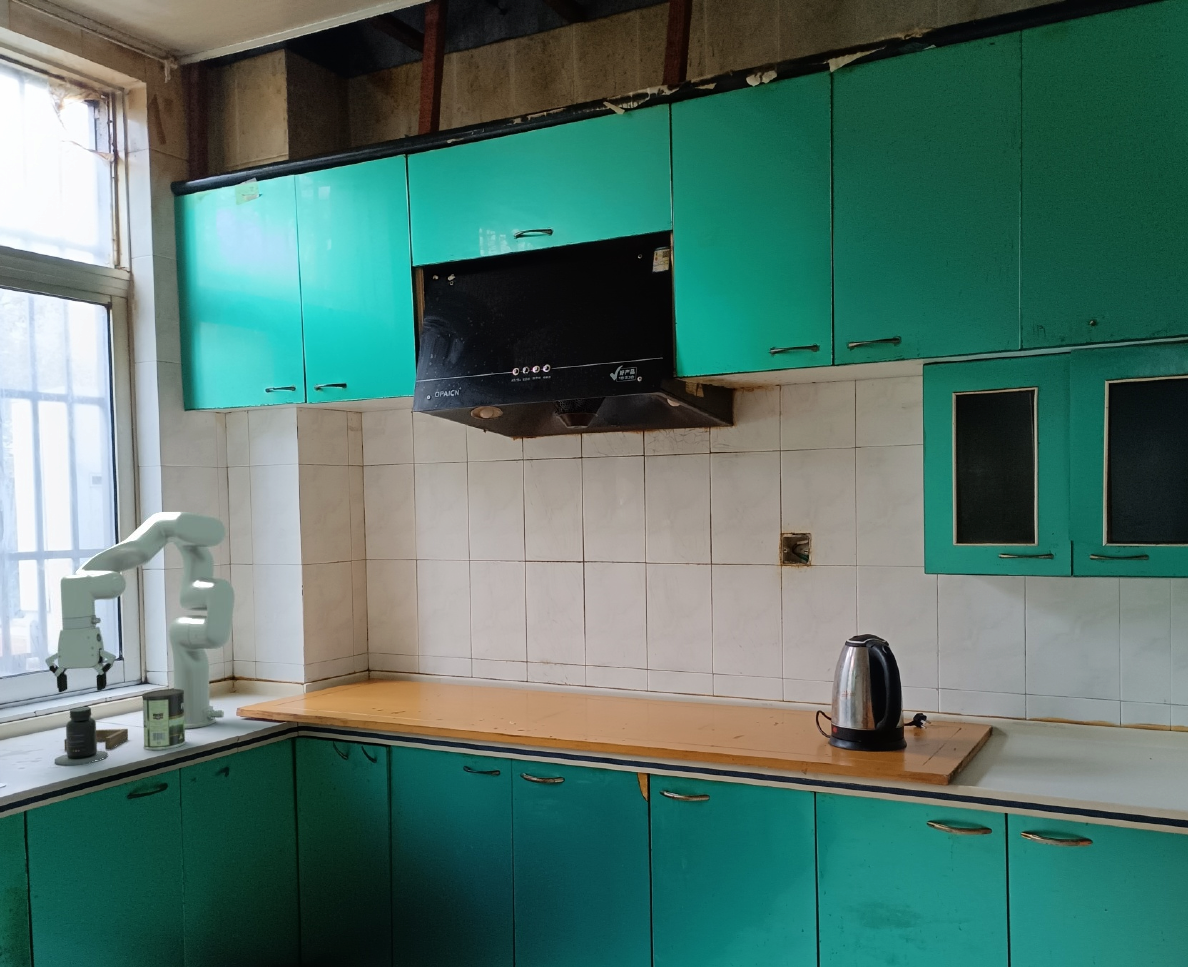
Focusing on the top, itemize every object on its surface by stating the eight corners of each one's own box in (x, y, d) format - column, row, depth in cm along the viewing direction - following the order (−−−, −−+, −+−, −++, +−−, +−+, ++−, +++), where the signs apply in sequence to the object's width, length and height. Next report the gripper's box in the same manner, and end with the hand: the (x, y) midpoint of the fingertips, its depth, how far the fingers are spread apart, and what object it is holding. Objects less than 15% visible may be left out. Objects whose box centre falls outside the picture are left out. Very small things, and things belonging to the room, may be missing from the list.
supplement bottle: (73, 753, 257) (72, 706, 257) (101, 752, 257) (100, 705, 258) (61, 760, 250) (60, 712, 250) (90, 759, 251) (89, 711, 251)
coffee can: (181, 738, 273) (180, 687, 273) (188, 746, 264) (187, 692, 264) (140, 744, 267) (139, 692, 268) (146, 752, 259) (145, 697, 259)
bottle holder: (127, 739, 273) (127, 728, 273) (109, 749, 263) (109, 738, 263) (84, 741, 273) (84, 730, 273) (64, 751, 263) (64, 739, 263)
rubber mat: (116, 752, 260) (116, 750, 260) (93, 764, 248) (93, 762, 248) (69, 753, 259) (69, 751, 259) (45, 766, 247) (45, 763, 247)
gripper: (120, 619, 258) (123, 685, 258) (52, 622, 258) (55, 688, 258) (106, 624, 250) (109, 692, 251) (36, 627, 250) (40, 695, 250)
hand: (82, 690), depth 254 cm, fingers open, 9 cm apart
